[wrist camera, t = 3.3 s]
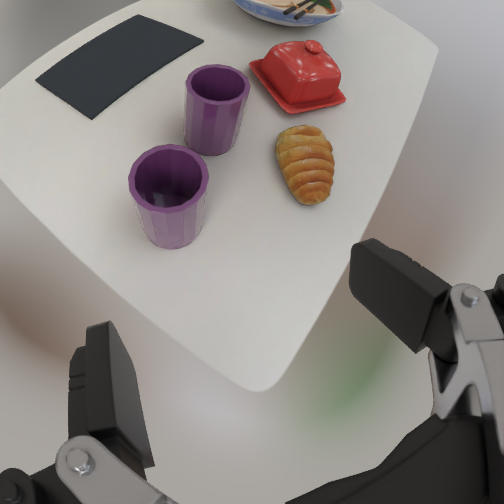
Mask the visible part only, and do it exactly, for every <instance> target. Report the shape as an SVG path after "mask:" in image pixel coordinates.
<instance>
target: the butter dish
mask: <svg viewBox="0 0 504 504" xmlns="http://www.w3.org/2000/svg"><path fill="white" fill-rule="evenodd" d="M249 67H250V68H251V70H252V71H253V73H254V74H255V75H256V76H257V77H258V79H259V80H260V81H261V82H262V84H263V85H264V86H265V87H266V89H267V90H268V91H269V93H270V94H271V95H272V96H273V98H274V99H275V100H276V102H277V103H278V104H279V106H281V107H282V108H283V109H284V110H285V111H286V112H287V113H289V114H296V113H302V112H306V111H310V110H315V109H319V108H324V107H328V106H333V105H337V104H341V103H344V102H345V101H346V98H345V96H344V95H343V94H342V92H341V91H340V89H339V88H338V86H339V83H340V79H341V72H340V70H339V68H338V66H337V65H336V63H335V62H334V61H333V59H332V58H331V57H330V56H329V55H328V54H327V53H326V52H325V51H324V50H323V47H322V45H321V44H320V43H318V42H317V41H314V40H307V41H292V42H285V43H281V44H278V45H275V46H274V47H272V48H271V49H270V51H269V52H268V53H267V55H266V56H265V57H264V59H259V60H255V61H252V62H250V63H249Z"/></svg>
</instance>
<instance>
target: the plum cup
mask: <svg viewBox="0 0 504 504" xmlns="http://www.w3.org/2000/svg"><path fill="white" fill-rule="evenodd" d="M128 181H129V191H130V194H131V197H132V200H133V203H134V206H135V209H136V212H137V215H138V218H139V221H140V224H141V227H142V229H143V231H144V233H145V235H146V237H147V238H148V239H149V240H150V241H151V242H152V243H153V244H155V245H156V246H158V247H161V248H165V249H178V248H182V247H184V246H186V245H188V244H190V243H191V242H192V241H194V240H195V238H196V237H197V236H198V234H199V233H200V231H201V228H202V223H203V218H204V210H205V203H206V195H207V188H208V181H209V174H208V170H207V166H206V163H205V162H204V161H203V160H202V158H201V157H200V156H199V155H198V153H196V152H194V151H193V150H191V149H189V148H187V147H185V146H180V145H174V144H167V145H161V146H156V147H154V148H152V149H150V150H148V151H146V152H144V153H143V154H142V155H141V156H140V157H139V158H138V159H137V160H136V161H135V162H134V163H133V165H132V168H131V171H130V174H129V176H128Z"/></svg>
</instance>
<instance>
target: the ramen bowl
mask: <svg viewBox="0 0 504 504" xmlns="http://www.w3.org/2000/svg"><path fill="white" fill-rule="evenodd" d="M233 1H234V2H235V3H236V4H237V5H238V6H239V7H240V8H241V9H243V10H244V11H246V12H247V13H249V14H251V15H253V16H255V17H257V18H259V19H262V20H265V21H268V22H272V23H275V24H280V25H286V26H312V25H315V24H319V23H322V22H325V21H328V20H330V19H332V18H334V17H336V16H338V15H339V14H341V13H342V12H343V9H344V6H345V5H344V4H343V2H342V1H341V0H233Z"/></svg>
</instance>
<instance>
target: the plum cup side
mask: <svg viewBox="0 0 504 504" xmlns="http://www.w3.org/2000/svg"><path fill="white" fill-rule="evenodd" d="M249 89H250V83H249V81H248V78H247V77H246V76H245V75H244V74H243V73H242V72H241V71H239V70H237V69H235V68H232V67H230V66H225V65H220V64H214V65H205V66H202V67H199V68H197V69H195V70H194V71H192V72H191V73H190V74H189V75H188V77H187V80H186V83H185V104H184V139H185V142H186V144H187V145H188V146H189V147H190V148H191V149H192V150H193V151H195V152H197V153H199V154H202V155H207V156H215V155H220V154H223V153H225V152H227V151H229V150H230V149H231V148H232V147H233V146H234V144H235V142H236V139H237V135H238V131H239V127H240V124H241V120H242V116H243V112H244V109H245V105H246V101H247V97H248V94H249Z"/></svg>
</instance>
